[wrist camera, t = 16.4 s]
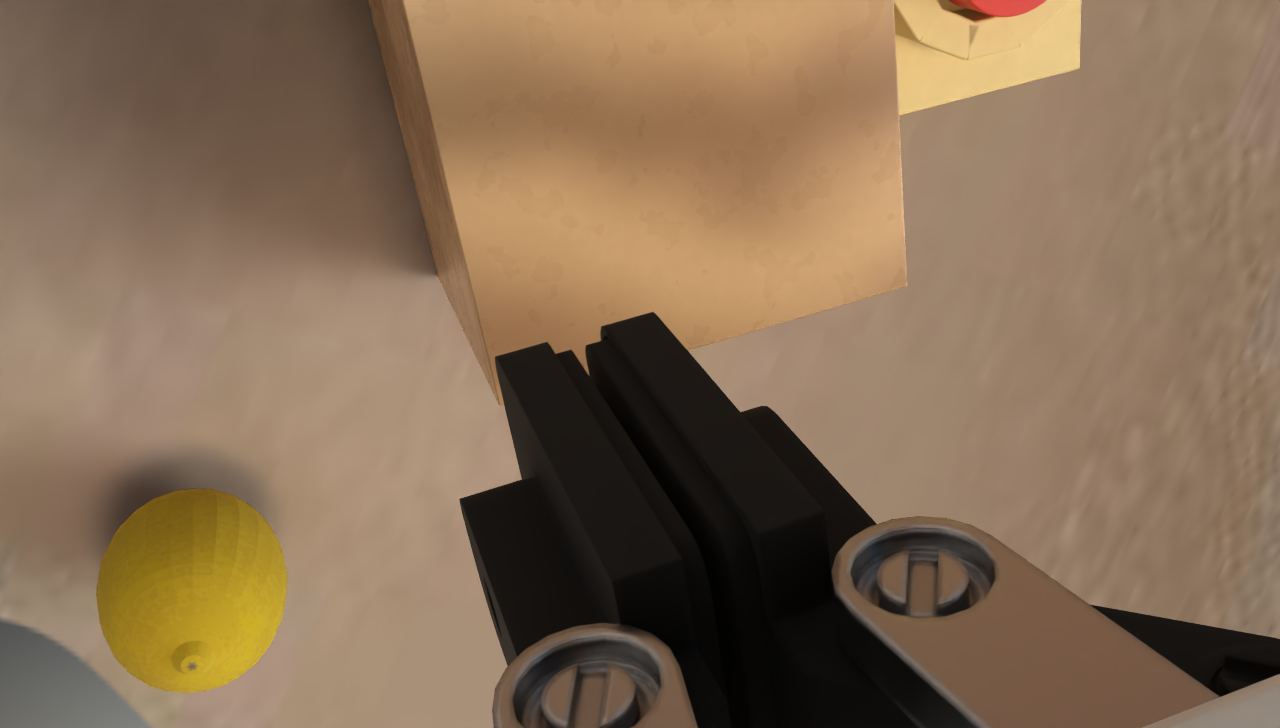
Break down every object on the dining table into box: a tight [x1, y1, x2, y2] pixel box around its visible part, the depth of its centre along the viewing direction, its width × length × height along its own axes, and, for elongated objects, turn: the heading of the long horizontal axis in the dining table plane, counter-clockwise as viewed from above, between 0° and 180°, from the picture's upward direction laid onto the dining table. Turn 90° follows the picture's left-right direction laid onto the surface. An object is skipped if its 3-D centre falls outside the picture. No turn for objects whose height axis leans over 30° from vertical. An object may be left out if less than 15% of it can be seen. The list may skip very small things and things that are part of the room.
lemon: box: [96, 488, 287, 693], centre depth 37 cm, size 6×6×8 cm
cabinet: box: [368, 0, 907, 405], centre depth 34 cm, size 14×12×10 cm
